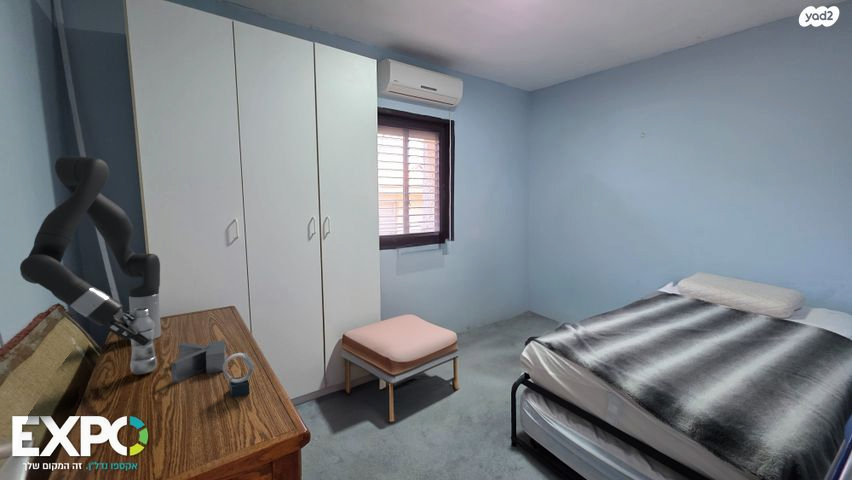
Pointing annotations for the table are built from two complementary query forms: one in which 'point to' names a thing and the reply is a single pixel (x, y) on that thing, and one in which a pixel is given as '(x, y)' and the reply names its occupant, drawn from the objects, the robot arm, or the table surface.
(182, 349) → the v block
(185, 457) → the table surface
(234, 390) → the watch
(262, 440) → the table surface
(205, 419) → the table surface
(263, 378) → the table surface
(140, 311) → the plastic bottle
